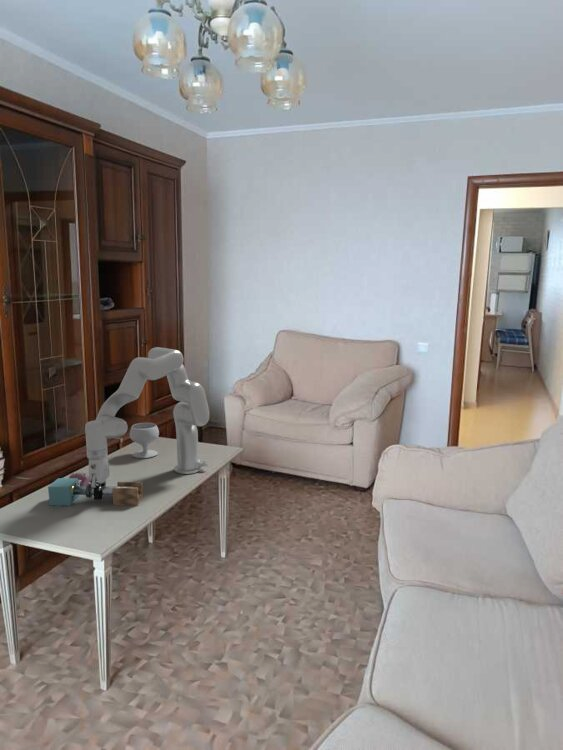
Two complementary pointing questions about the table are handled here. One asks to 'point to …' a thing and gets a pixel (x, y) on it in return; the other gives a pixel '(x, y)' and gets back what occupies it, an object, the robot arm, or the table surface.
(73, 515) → the table surface
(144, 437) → the chalice
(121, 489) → the wooden cradle block
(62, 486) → the socket block
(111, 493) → the rod
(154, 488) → the table surface
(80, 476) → the video game controller
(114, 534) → the table surface
